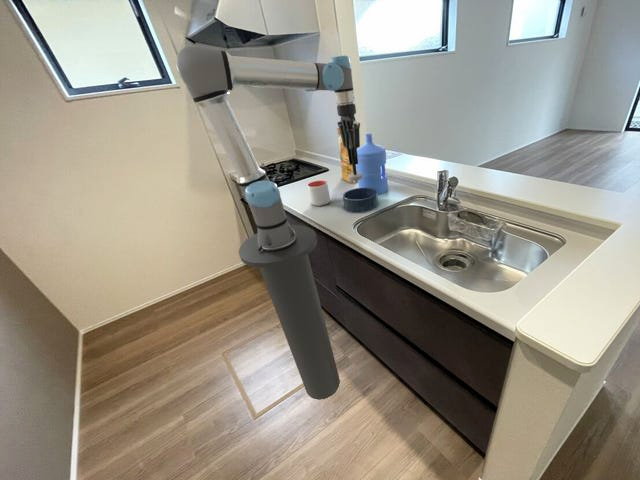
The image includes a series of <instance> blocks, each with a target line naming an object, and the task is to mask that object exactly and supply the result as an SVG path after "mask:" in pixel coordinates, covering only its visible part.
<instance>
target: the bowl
mask: <svg viewBox="0 0 640 480" xmlns="http://www.w3.org/2000/svg"><path fill="white" fill-rule="evenodd" d="M342 202H343V206H344V207H343V208H344V210H345V211H346V212H350V213H366V212H370V211H372V210H375V209H376V208H377V207H379V195H378V194H377V190H375V189H373V188H359V187H357V188H356V187H355V188H351V189H349V190H347V191H345V192H343V194H342Z"/></svg>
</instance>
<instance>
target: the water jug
mask: <svg viewBox="0 0 640 480" xmlns="http://www.w3.org/2000/svg"><path fill="white" fill-rule="evenodd" d="M357 155H358V156H357V158H358V164H356V170H357V173H362V176H363V178H362V179H360V180H357V183H358V188H373V189H375V190H377V194H378V196H379V195H382V194H384V193H386V192H387V191H388V190H389V184H388V176H387V175H388V174H386V164H387V152H386V148H385V147H384V146H382V145H379V144H377V143H374V142H373V134H372V133H366V134H365V143H364V145H362V146H360V147H359V148H357Z"/></svg>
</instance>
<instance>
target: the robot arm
mask: <svg viewBox="0 0 640 480" xmlns="http://www.w3.org/2000/svg"><path fill="white" fill-rule="evenodd" d="M175 65H176V70H177V73H178V76H179V78H180V79H181V80H182V82H183V83H184V85H185V87H186V90H187V91H188V93H189V95H190V96H191V99H192V100H193V102H194V104H195V105H196V106H198V107H201V108H202V109H203V111H204V113H205V116H206V117H207V119H208V121H209V123H210V124H211V126H212V129H213V131H214V133H215V134H216V136H217V138H218V140H219V142H220V144H221V146H222V148H223V149H224V151H225V154H226V155H227V157H228V159H229V161H230V163H231V165H232V167H233V169H234V171H235V172H236V174H237V178H236V183H237V185H238V187H239V189H240V190H241V193H242V194H243V197H244V199H245V201H246V202H247V204H248V207H249V208H250V211H251V214H252V217H253V219H254V222H255V225H256V228H257V233H258V245H259V249H258V251H259V252H260V251H261V250H263V251H267V252H274V251H280V250H283V249H286V248H288V247H290V246H292V245H293V244H294V243H295V242H296V240H297V237H296V234H295V231H294V229H292V227H291V226H290V225H291V224H290V222H289V221H288V219H287V215H286V210H285V207H284V205H283V201H282V200H283V199H282V196H281V191H280V189H279V187H278V185H277V184H276V183H275V182H274V181H271V180H270V179H269V176H268V173H267V172H266V170H264V169H262V168H260V165H259V164H258V162H257V160H256V158H255V156H254V154H253V151H252V149H251V147H250V145H249V143H248V140H247V138H246V136H245V134H244V132H243V130H242V128H241V126H240V123H239V122H238V120H237V117H236V114H235V113H234V111H233V109H232V106H231V104H230V102H229V100H228V98H229V95H230V92H229V91H234V90H235V89H236V88H238V87H239V88H262V89H263V88H264V89H289V90H304V91H305V92H307V93H308V92H316V91H328V92H329V91H330V92H334V98H335V104H336V110H337V116H339V117H340V121H338V122H337V126H338V128H339V129H340V133H341V138H342V142H343V146H344V147H346V148H347V152H348V157H349V164H350V165H351V164H352V165H356V164H358V158H357V156H358V155H357V149H359V148H360V147H361V139H360V137H361V136H360V135H361V134H360V128H361V123H360V122H357V120H356V116H355V114H357V107H356V103H354V102H355V91H354V83H353V73H352V71H353V70H352V65H351V60H350V57H349V56H348V55H337V56H331V57H329V62H328V63H324V62H311V61H301V60H300V61H299V60H287V59H274V58H264V57H263V58H262V57H252V56H251V57H249V56H239V55H238V56H237V55H231V54H230V53H229V52H228V51H227V50H219V49H213V48H207V47H204V46H199V45H187V46H184V47H183V48H181V50H179V52H178V54H177V56H176V61H175ZM349 138H350V143H351V148H350V145H349ZM350 151H351V153H350ZM351 158H352V160H351Z"/></svg>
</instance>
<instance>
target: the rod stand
mask: <svg viewBox="0 0 640 480" xmlns="http://www.w3.org/2000/svg"><path fill="white" fill-rule="evenodd" d="M349 145H350V148H351V143H350V138H349ZM350 153H351V151H350ZM351 160H352V158H351ZM352 167H353V173H352V174H350V175H348V177H349V180H351V181H358V180H360V179H362V178H363V176H362V173H357V166H356V165H352Z"/></svg>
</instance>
